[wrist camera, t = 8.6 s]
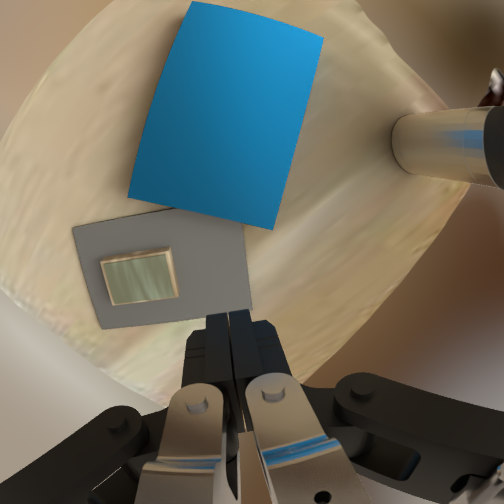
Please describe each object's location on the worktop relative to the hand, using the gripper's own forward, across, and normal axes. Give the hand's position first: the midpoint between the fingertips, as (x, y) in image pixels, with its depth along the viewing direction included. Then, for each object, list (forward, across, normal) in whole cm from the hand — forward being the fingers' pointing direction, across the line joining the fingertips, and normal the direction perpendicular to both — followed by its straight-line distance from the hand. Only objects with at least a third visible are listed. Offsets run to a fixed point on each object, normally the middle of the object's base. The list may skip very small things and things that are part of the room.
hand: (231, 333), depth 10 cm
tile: (+25, +7, +6) cm, 27 cm away
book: (+27, -3, -12) cm, 30 cm away
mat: (+26, +9, +6) cm, 29 cm away
